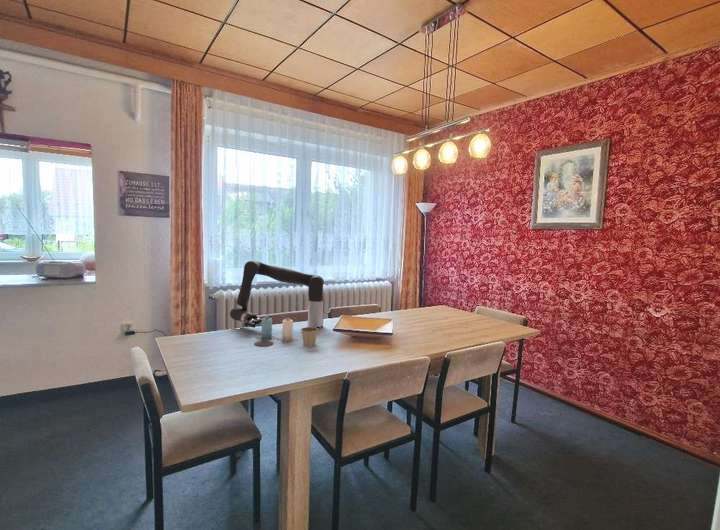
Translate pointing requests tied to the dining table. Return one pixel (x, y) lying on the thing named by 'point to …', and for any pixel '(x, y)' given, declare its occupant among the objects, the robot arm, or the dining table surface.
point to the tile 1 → (265, 339)
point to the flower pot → (309, 335)
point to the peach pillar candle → (287, 329)
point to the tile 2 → (287, 341)
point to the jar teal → (266, 328)
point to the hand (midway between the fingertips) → (261, 324)
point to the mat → (264, 343)
